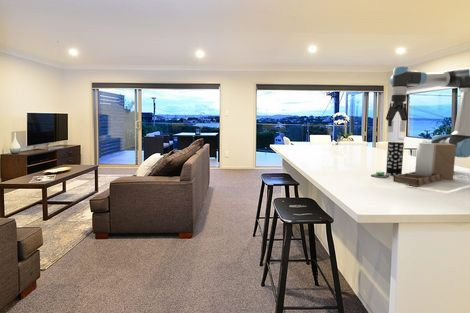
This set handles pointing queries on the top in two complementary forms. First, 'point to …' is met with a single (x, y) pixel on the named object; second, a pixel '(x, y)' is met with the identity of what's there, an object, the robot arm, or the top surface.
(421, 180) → the divided wooden tray
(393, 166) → the spotted tube
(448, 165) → the wooden block
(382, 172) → the button
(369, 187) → the top surface
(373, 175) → the button housing
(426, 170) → the seated billet
